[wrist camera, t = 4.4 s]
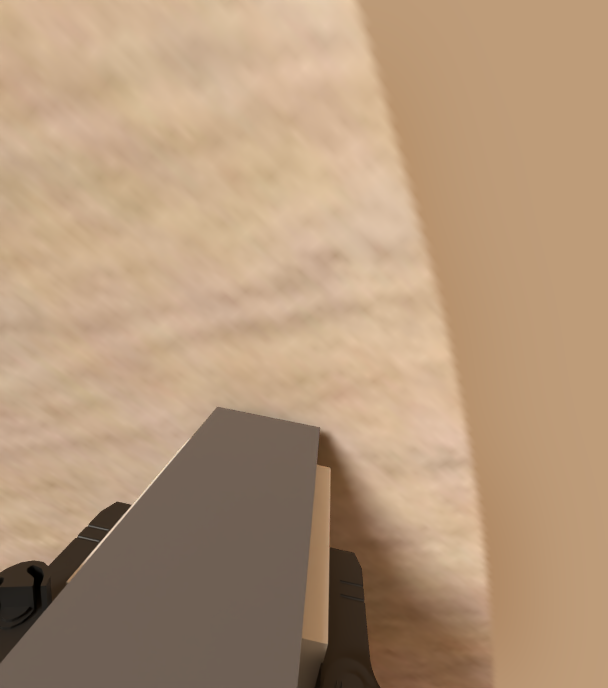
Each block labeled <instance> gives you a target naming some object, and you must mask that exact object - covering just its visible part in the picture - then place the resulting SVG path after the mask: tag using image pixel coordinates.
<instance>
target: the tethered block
mask: <svg viewBox="0 0 608 688" xmlns="http://www.w3.org/2000/svg"><path fill="white" fill-rule="evenodd" d="M319 434H320V427H315V426H310V425H305V424H300V423H295V422H290V421H285V420H280V419H275V418H270V417H265V416H260V415H255V414H250V413H245V412H240V411H235V410H230V409H225V408H220V407H217V408H216V409H215V410H214V411H213V413H212V414H211V415H210V416H209V417H208V419H207V420H206V421H205V422H204V423H203V424H202V426H201V427H200V428H199V429H198V430H197V432H196V433H195V434H194V435H193V436H192V437H191V439H190V440H189V441H188V442H187V443H186V445H185V446H184V447H183V448H182V449H181V450H180V452H179V453H178V454H177V455H176V456H175V458H174V459H173V460H172V461H171V462H170V463H169V465H168V466H167V467H166V468H165V469H164V471H163V472H162V473H161V474H160V475H159V476H158V478H157V479H156V480H155V481H154V482H153V484H152V485H151V486H150V487H149V488H148V489H147V491H146V492H145V493H144V494H143V495H142V497H141V498H140V499H139V500H138V501H137V502H136V504H135V505H134V506H133V507H132V508H131V510H130V511H129V512H128V513H127V514H126V515H125V517H124V518H123V519H122V520H121V521H120V523H119V524H118V525H117V526H116V527H115V528H114V530H113V531H112V532H111V533H110V534H109V536H108V537H107V538H106V539H105V540H104V541H103V543H102V544H101V545H100V546H99V547H98V549H97V550H96V551H95V552H94V553H93V554H92V556H91V557H90V558H89V559H88V560H87V562H86V563H85V564H84V565H83V566H82V567H81V569H80V570H79V571H78V572H77V573H76V575H75V576H74V577H73V578H72V579H71V580H70V582H69V583H68V584H67V585H66V586H65V588H64V589H63V590H62V591H61V592H60V593H59V595H58V596H57V597H56V598H55V599H54V601H53V602H52V603H51V604H50V605H49V606H48V608H47V609H46V610H45V611H44V612H43V613H42V615H41V616H40V617H39V618H38V619H37V621H36V622H35V623H34V624H33V625H32V626H31V628H30V629H29V630H28V631H27V632H26V634H25V635H24V636H23V637H22V638H21V639H20V641H19V642H18V643H17V644H16V645H15V647H14V648H13V649H12V650H11V651H10V652H9V654H8V655H7V656H6V657H5V658H4V660H3V661H2V662H1V663H0V688H297V686H298V674H299V663H300V652H301V640H302V629H303V617H304V606H305V594H306V583H307V571H308V560H309V548H310V537H311V525H312V514H313V503H314V491H315V480H316V468H317V457H318V445H319Z"/></svg>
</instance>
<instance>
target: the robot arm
mask: <svg viewBox="0 0 608 688" xmlns="http://www.w3.org/2000/svg"><path fill="white" fill-rule="evenodd" d="M189 440H190V439H188V440H187V441H186V443H187V442H188V441H189ZM186 443H185V444H184V445H183V446H182V447H181V448H180V450H181V449H182V448H183V447H184V446H185V445H186ZM180 450H179V451H178V452H177V453H176V454H175V455H174V457H173V458H172V459H171V460H170V461H169V462H168V464H167V465H166V466H165V467H164V468H163V469H162V471H161V472H160V473H159V474H158V475H157V476H156V478H155V479H154V480H153V481H152V482H151V483H150V485H149V486H148V487H147V488H146V489H145V490H144V492H143V493H142V494H141V495H140V496H139V497H138V499H137V500H136V501H135V502H134V503H133V505H130V504H126V503H121V502H116V503H114V504H112V505H111V506H109V507H107V508H106V509H104V510H103V511H101V512H100V513H99V514H98V515H97V516H96V517H95V518H94V519H93V520H92V521H91V522H90V523H89V525H88V527H86V528H85V529H84V530H83V531H82V532H81V533H80V534H79V535H78V537H77V538H75V539H74V540H73V541H72V542H71V543H70V544H69V545H68V546H67V547H66V548H65V549H64V551H63V552H62V553H61V554H60V555H59V556H58V557H57V558H56V559H55V560H54V561H53V562H52V563H51V564H50V565H49V566H47V565H46V564H45V563H44V562H40V561H28V562H22V563H19V564H16V565H14V566H11V567H9V568H7V569H5V570H4V571H2V572H1V573H0V663H1V662H2V661H3V660H4V658H5V657H6V656H7V655H8V654H9V652H10V651H11V650H12V649H13V648H14V647H15V645H16V644H17V643H18V642H19V641H20V639H21V638H22V637H23V636H24V635H25V634H26V632H27V631H28V630H29V629H30V628H31V626H32V625H33V624H34V623H35V622H36V621H37V619H38V618H39V617H40V616H41V615H42V613H43V612H44V611H45V610H46V609H47V608H48V606H49V605H50V604H51V603H52V602H53V601H54V599H55V598H56V597H57V596H58V595H59V593H60V592H61V591H62V590H63V589H64V588H65V586H66V585H67V584H68V583H69V582H70V580H71V579H72V578H73V577H74V576H75V575H76V573H77V572H78V571H79V570H80V569H81V567H82V566H83V565H84V564H85V563H86V562H87V560H88V559H89V558H90V557H91V556H92V554H93V553H94V552H95V551H96V550H97V549H98V547H99V546H100V545H101V544H102V543H103V541H104V540H105V539H106V538H107V537H108V536H109V534H110V533H111V532H112V531H113V530H114V528H115V527H116V526H117V525H118V524H119V523H120V521H121V520H122V519H123V518H124V517H125V515H126V514H127V513H128V512H129V511H130V510H131V508H132V507H133V506H134V505H135V504H136V502H137V501H138V500H139V499H140V498H141V497H142V495H143V494H144V493H145V492H146V491H147V489H148V488H149V487H150V486H151V485H152V484H153V482H154V481H155V480H156V479H157V478H158V476H159V475H160V474H161V473H162V472H163V471H164V469H165V468H166V467H167V466H168V465H169V463H170V462H171V461H172V460H173V459H174V458H175V456H176V455H177V454H178V453H179V452H180ZM330 481H331V468H330V467H325V466H320V465H317V468H316V480H315V491H314V503H313V514H312V525H311V537H310V548H309V560H308V571H307V583H306V594H305V606H304V617H303V629H302V640H301V652H300V663H299V674H298V686H297V688H380V686H379V684H378V683H377V681H376V679H375V676H374V674H373V671H372V668H371V662H370V655H369V645H368V634H367V623H366V612H365V603H364V590H363V580H362V569H361V566H360V564H359V562H358V560H357V558H356V556H355V553H352V552H348V551H343V550H339V549H334V548H329V544H330Z"/></svg>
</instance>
